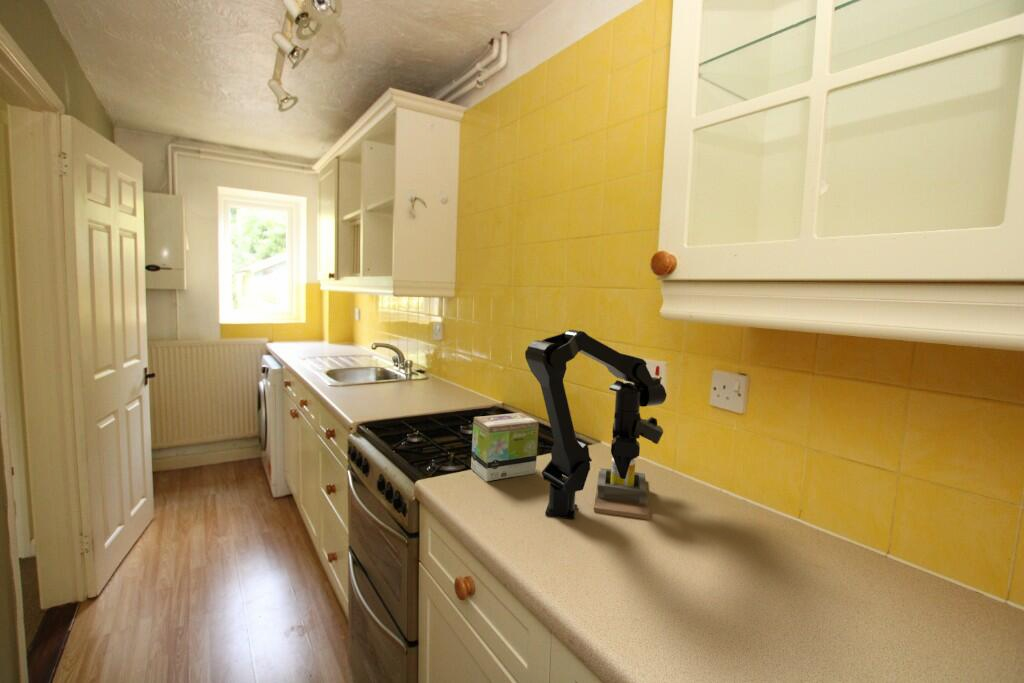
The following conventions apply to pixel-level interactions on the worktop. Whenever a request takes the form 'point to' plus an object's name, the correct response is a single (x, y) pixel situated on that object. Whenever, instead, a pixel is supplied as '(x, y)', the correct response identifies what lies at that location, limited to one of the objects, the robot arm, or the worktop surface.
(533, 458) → the tea box
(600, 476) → the board
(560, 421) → the robot arm
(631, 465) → the supplement bottle
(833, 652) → the worktop surface
